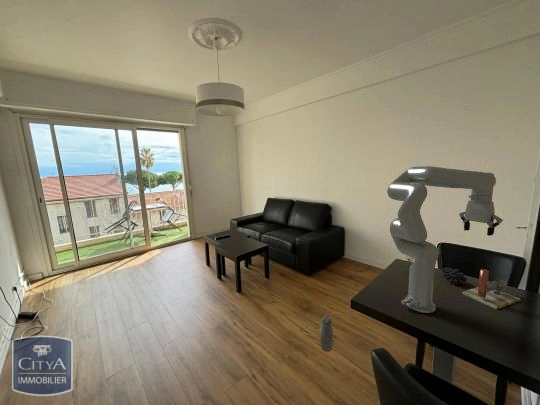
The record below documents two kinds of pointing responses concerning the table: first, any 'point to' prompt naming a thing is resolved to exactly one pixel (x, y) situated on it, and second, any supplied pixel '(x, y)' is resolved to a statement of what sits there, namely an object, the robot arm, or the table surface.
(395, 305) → the table surface
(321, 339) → the glass bottle
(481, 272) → the lever
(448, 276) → the fruit
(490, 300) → the board
